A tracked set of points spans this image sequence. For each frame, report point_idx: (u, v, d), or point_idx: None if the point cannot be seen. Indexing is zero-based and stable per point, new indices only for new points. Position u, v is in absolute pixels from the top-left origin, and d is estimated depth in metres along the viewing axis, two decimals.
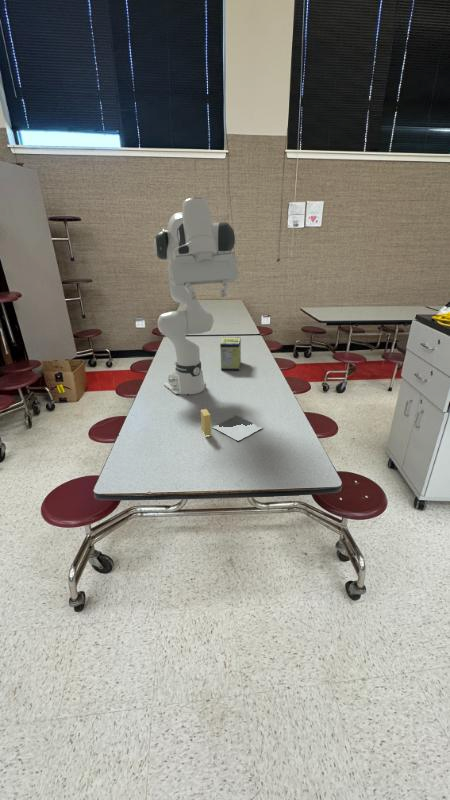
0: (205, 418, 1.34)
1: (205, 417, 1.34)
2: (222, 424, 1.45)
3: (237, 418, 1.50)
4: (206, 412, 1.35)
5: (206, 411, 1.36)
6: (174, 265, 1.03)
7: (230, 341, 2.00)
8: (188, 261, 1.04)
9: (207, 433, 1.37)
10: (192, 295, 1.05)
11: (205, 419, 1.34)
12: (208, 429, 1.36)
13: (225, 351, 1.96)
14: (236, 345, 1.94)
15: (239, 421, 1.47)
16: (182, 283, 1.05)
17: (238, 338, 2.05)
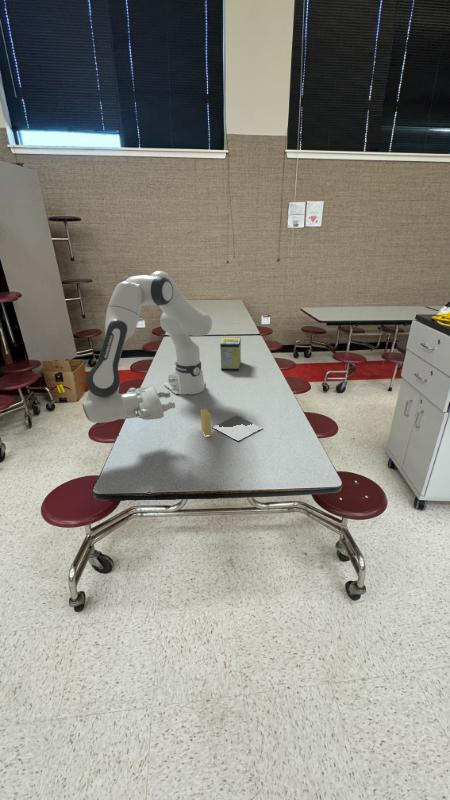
0: (205, 418, 1.34)
1: (205, 417, 1.34)
2: (222, 424, 1.45)
3: (237, 418, 1.50)
4: (206, 412, 1.35)
5: (206, 411, 1.36)
6: None
7: (230, 341, 2.00)
8: None
9: (207, 433, 1.37)
10: None
11: (205, 419, 1.34)
12: (208, 429, 1.36)
13: (225, 351, 1.96)
14: (236, 345, 1.94)
15: (239, 421, 1.47)
16: None
17: (238, 338, 2.05)
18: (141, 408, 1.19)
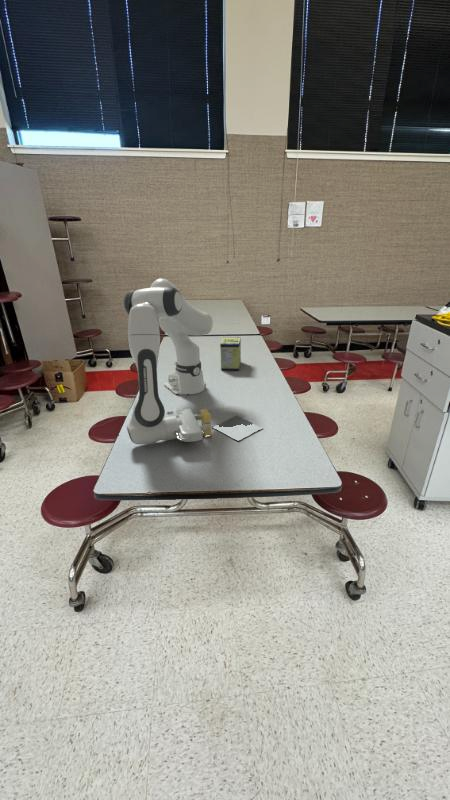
0: (205, 418, 1.34)
1: (205, 417, 1.34)
2: (222, 424, 1.45)
3: (237, 418, 1.50)
4: (206, 412, 1.35)
5: (206, 411, 1.36)
6: None
7: (230, 341, 2.00)
8: None
9: (207, 433, 1.37)
10: None
11: (205, 419, 1.34)
12: (208, 429, 1.36)
13: (225, 351, 1.96)
14: (236, 345, 1.94)
15: (239, 421, 1.47)
16: None
17: (238, 338, 2.05)
18: (182, 431, 1.28)
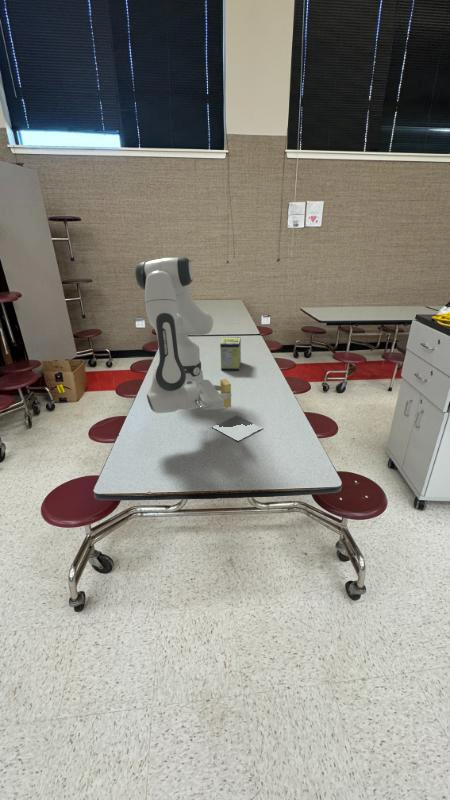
0: (225, 387, 1.32)
1: (225, 386, 1.32)
2: (222, 424, 1.45)
3: (237, 418, 1.50)
4: (226, 382, 1.33)
5: (226, 381, 1.34)
6: None
7: (230, 341, 2.00)
8: None
9: (227, 403, 1.35)
10: None
11: (225, 388, 1.32)
12: (228, 399, 1.34)
13: (225, 351, 1.96)
14: (236, 345, 1.94)
15: (239, 421, 1.47)
16: None
17: (238, 338, 2.05)
18: (203, 398, 1.26)
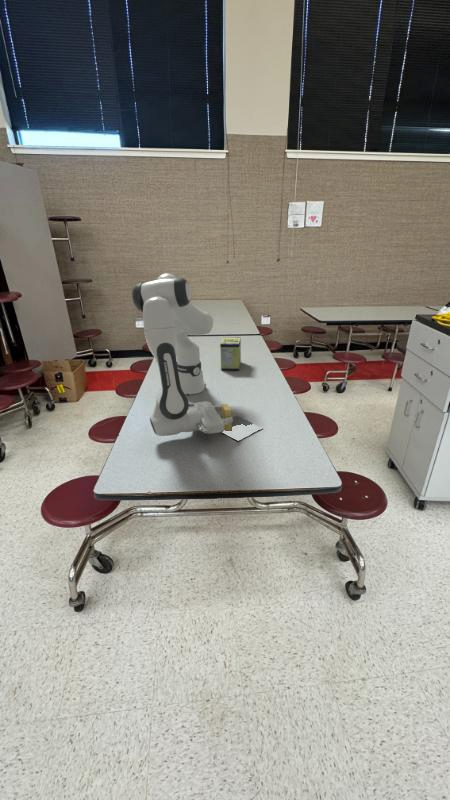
0: (226, 412, 1.36)
1: (226, 411, 1.36)
2: None
3: (237, 418, 1.50)
4: (226, 407, 1.38)
5: (227, 406, 1.39)
6: None
7: (230, 341, 2.00)
8: None
9: (228, 428, 1.40)
10: None
11: (226, 413, 1.37)
12: (229, 424, 1.39)
13: (225, 351, 1.96)
14: (236, 345, 1.94)
15: (239, 421, 1.47)
16: None
17: (238, 338, 2.05)
18: (204, 422, 1.30)
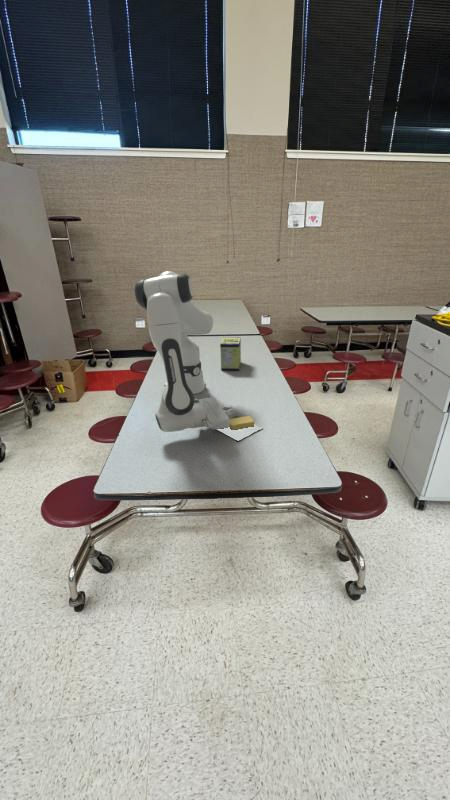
0: (251, 422, 1.42)
1: (252, 422, 1.42)
2: None
3: None
4: None
5: None
6: None
7: (230, 341, 2.00)
8: None
9: (235, 427, 1.40)
10: None
11: (250, 423, 1.42)
12: (239, 427, 1.41)
13: (225, 351, 1.96)
14: (236, 345, 1.94)
15: None
16: None
17: (238, 338, 2.05)
18: (210, 418, 1.30)
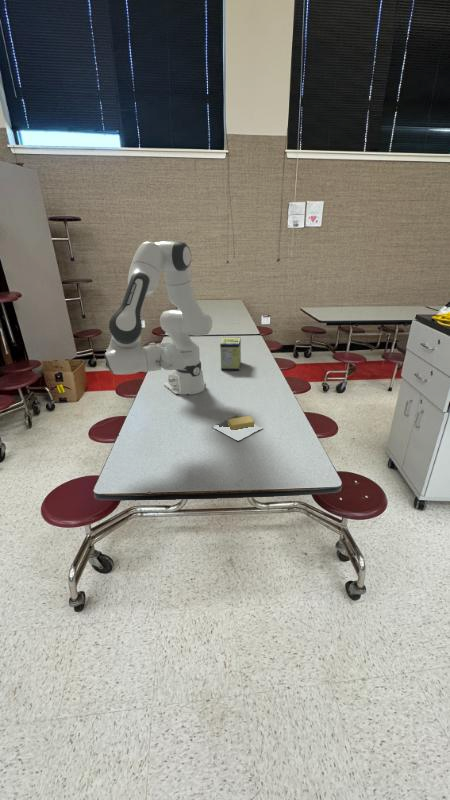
0: (251, 422, 1.42)
1: (252, 422, 1.42)
2: (222, 424, 1.45)
3: None
4: None
5: None
6: None
7: (230, 341, 2.00)
8: None
9: (235, 427, 1.40)
10: None
11: (250, 423, 1.42)
12: (239, 427, 1.41)
13: (225, 351, 1.96)
14: (236, 345, 1.94)
15: None
16: None
17: (238, 338, 2.05)
18: (163, 358, 1.19)
